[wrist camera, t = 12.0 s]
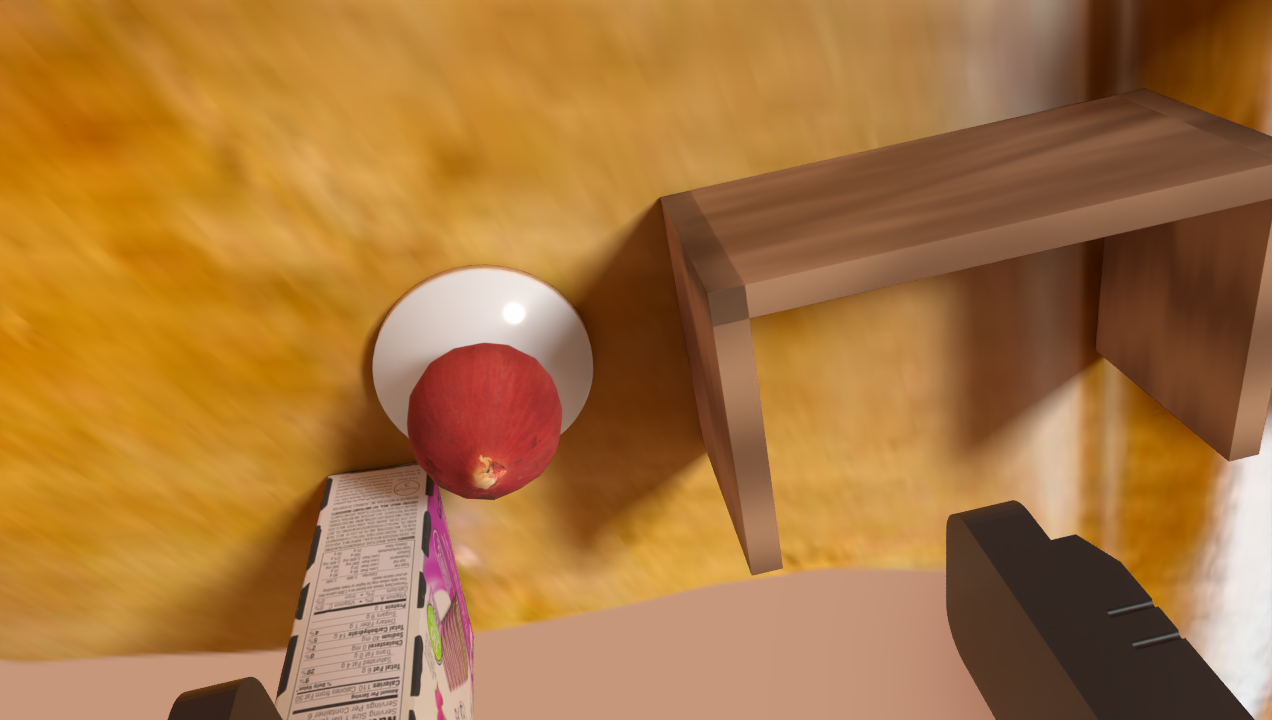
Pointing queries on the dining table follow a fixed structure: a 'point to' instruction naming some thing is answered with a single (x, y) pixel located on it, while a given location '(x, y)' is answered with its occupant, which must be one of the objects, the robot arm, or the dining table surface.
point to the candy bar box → (380, 607)
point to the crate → (989, 232)
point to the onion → (484, 420)
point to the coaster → (481, 333)
